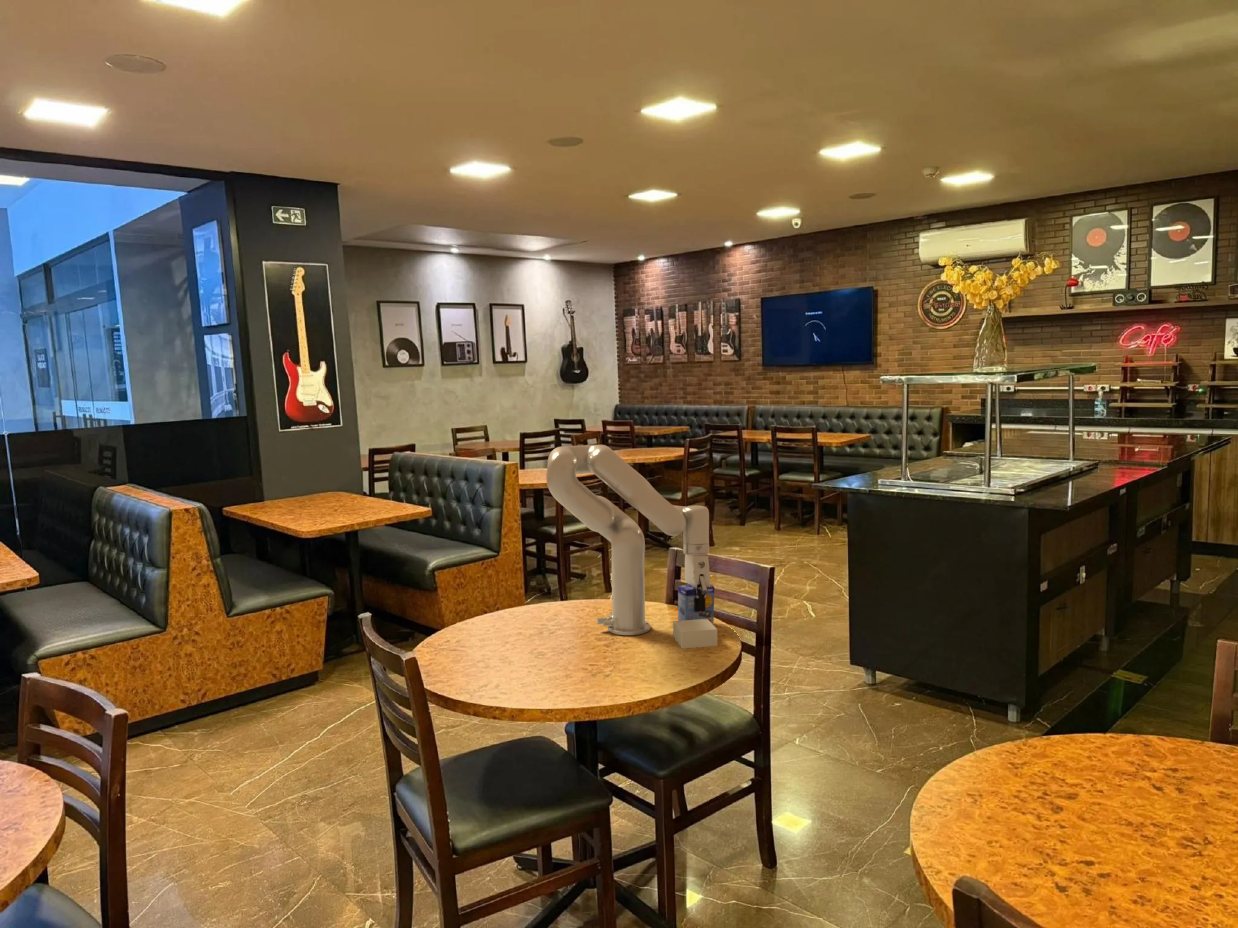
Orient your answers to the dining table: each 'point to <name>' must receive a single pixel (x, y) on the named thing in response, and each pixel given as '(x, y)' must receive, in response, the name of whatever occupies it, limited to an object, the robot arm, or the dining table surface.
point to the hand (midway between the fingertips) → (696, 607)
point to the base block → (695, 633)
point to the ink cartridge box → (687, 604)
